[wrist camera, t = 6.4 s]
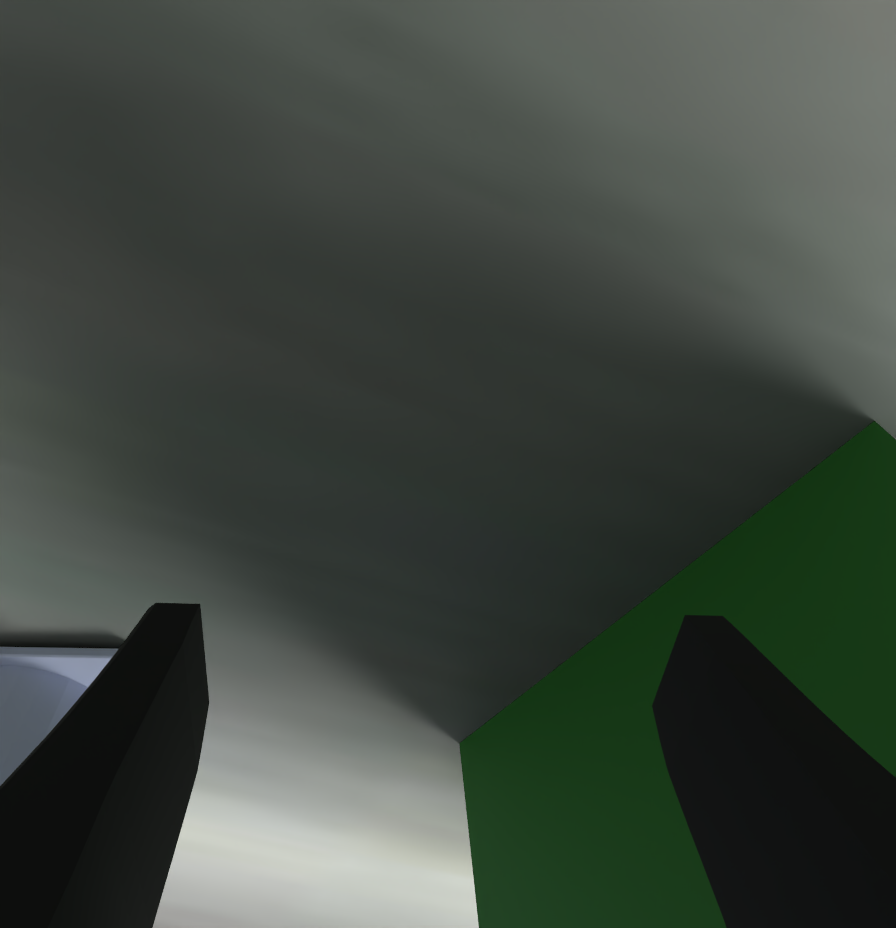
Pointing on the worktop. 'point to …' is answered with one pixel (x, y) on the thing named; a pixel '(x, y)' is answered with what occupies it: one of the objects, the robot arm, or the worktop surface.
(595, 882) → the green box
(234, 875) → the worktop surface
